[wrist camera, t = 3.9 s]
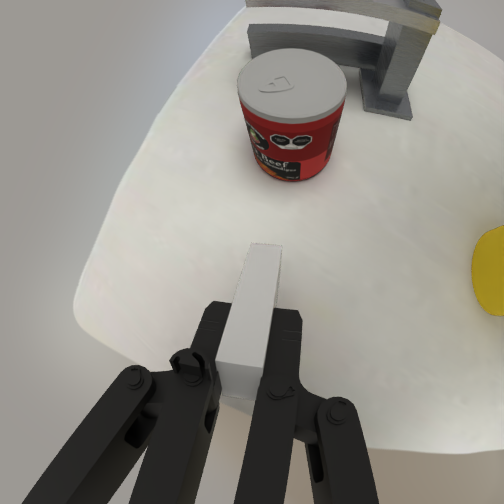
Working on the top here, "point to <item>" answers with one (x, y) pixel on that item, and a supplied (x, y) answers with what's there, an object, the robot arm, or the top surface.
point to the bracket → (361, 44)
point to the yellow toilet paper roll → (489, 271)
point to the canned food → (292, 110)
